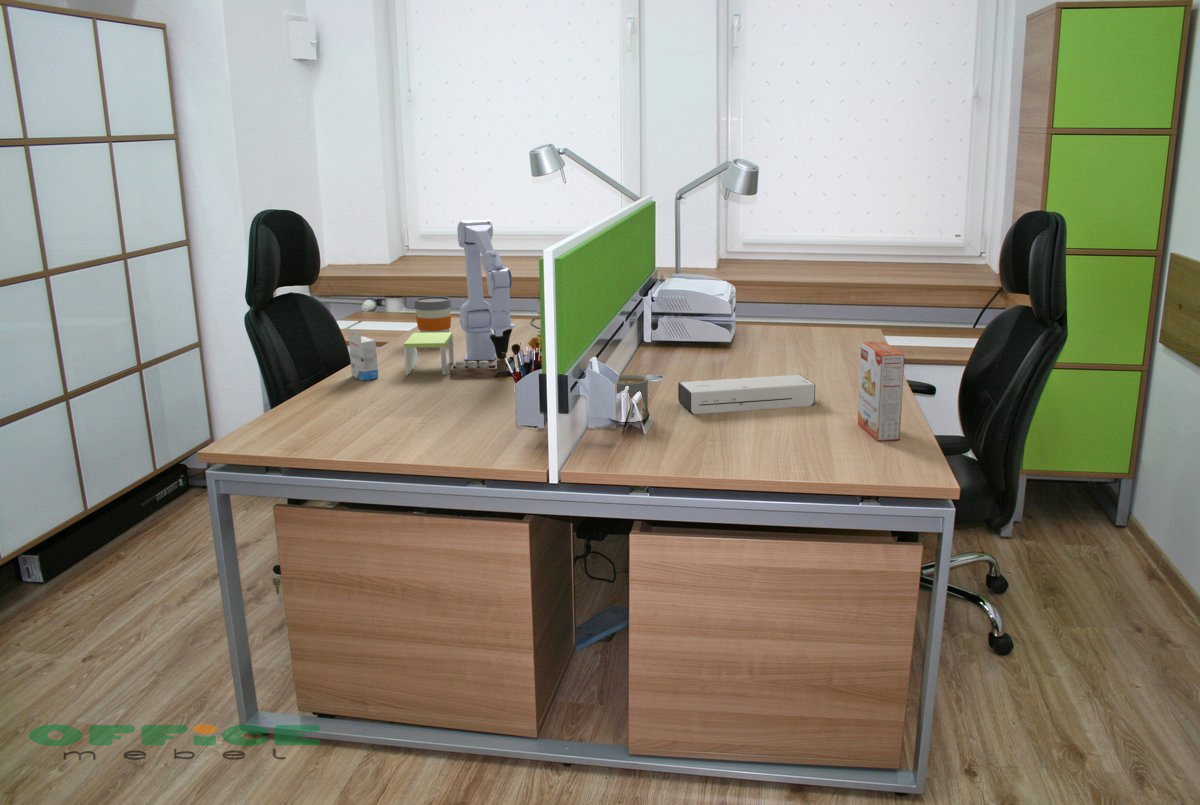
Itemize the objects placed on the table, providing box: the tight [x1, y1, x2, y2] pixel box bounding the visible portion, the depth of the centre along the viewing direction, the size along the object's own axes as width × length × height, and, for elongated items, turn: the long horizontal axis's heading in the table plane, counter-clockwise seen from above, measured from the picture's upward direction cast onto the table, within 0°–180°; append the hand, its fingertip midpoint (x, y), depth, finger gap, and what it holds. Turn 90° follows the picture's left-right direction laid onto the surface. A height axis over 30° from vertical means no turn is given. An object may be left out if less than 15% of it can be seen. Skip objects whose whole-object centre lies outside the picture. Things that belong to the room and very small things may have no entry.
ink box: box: [348, 328, 379, 381], centre depth 301 cm, size 8×5×15 cm, turn 39°
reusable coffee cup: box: [414, 295, 453, 333], centre depth 348 cm, size 12×13×15 cm
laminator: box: [677, 374, 816, 415], centre depth 268 cm, size 34×12×6 cm, turn 101°
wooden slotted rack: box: [449, 358, 507, 378], centre depth 303 cm, size 17×5×5 cm, turn 90°
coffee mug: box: [617, 374, 649, 412], centre depth 256 cm, size 13×10×10 cm
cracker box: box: [857, 341, 906, 442], centre depth 240 cm, size 14×6×21 cm, turn 5°
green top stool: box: [403, 331, 455, 376], centre depth 311 cm, size 12×16×10 cm
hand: (502, 355), depth 302 cm, fingers open, 7 cm apart
